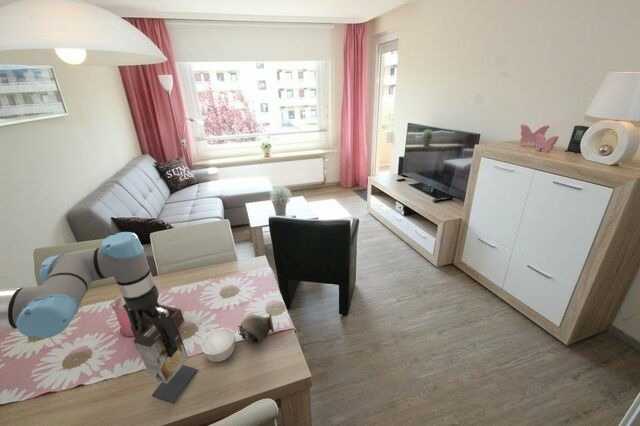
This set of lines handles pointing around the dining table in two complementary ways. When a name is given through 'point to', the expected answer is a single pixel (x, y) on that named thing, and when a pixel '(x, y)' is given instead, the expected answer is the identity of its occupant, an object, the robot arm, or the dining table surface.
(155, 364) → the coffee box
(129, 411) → the dining table surface
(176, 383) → the mat
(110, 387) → the dining table surface
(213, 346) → the ramekin
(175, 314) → the holder
